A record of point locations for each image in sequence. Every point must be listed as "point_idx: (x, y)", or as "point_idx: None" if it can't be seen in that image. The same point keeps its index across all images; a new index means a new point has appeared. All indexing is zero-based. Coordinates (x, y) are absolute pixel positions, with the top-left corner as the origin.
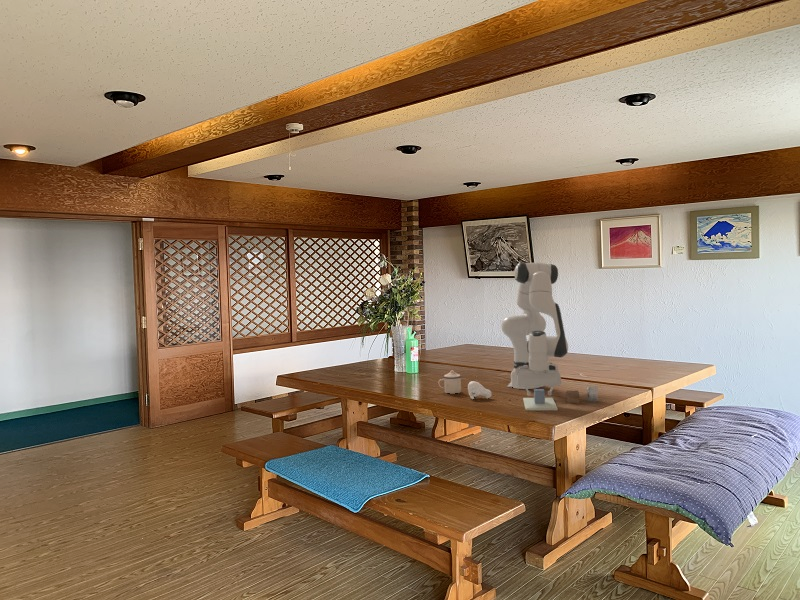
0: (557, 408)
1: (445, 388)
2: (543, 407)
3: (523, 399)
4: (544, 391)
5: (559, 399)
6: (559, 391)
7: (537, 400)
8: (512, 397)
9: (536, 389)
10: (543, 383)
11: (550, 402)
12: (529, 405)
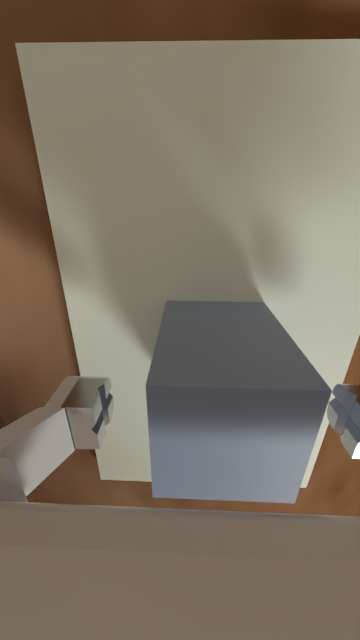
0: (19, 47)
1: None
2: (200, 95)
3: (317, 451)
4: (148, 378)
5: (61, 468)
6: None
7: (245, 314)
8: None
9: (263, 486)
10: (131, 593)
11: (112, 349)
12: (344, 227)
